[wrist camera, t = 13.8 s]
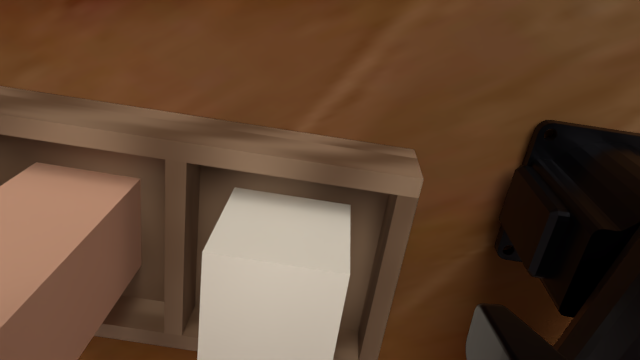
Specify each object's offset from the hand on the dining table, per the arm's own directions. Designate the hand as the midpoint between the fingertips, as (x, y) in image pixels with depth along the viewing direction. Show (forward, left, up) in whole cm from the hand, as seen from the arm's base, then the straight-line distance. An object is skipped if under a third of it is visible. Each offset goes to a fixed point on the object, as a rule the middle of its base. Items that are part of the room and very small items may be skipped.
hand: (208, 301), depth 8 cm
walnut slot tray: (+4, +7, -13) cm, 15 cm away
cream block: (-1, +7, -12) cm, 14 cm away
